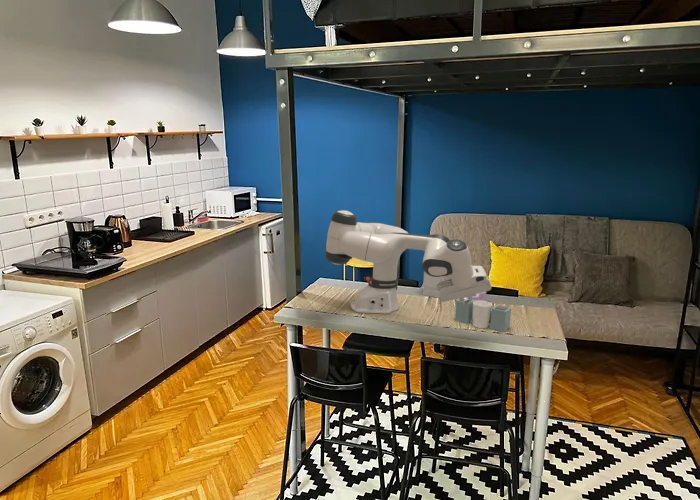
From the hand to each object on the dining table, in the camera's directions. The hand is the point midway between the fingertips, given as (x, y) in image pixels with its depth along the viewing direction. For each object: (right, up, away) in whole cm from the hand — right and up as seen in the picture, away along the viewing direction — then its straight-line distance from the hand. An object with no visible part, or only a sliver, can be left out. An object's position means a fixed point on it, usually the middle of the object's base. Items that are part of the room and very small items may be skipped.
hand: (466, 302), depth 199 cm
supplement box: (-4, -2, +58) cm, 58 cm away
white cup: (+9, -12, +15) cm, 22 cm away
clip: (+12, -6, +43) cm, 45 cm away
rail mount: (+11, -11, +18) cm, 24 cm away
